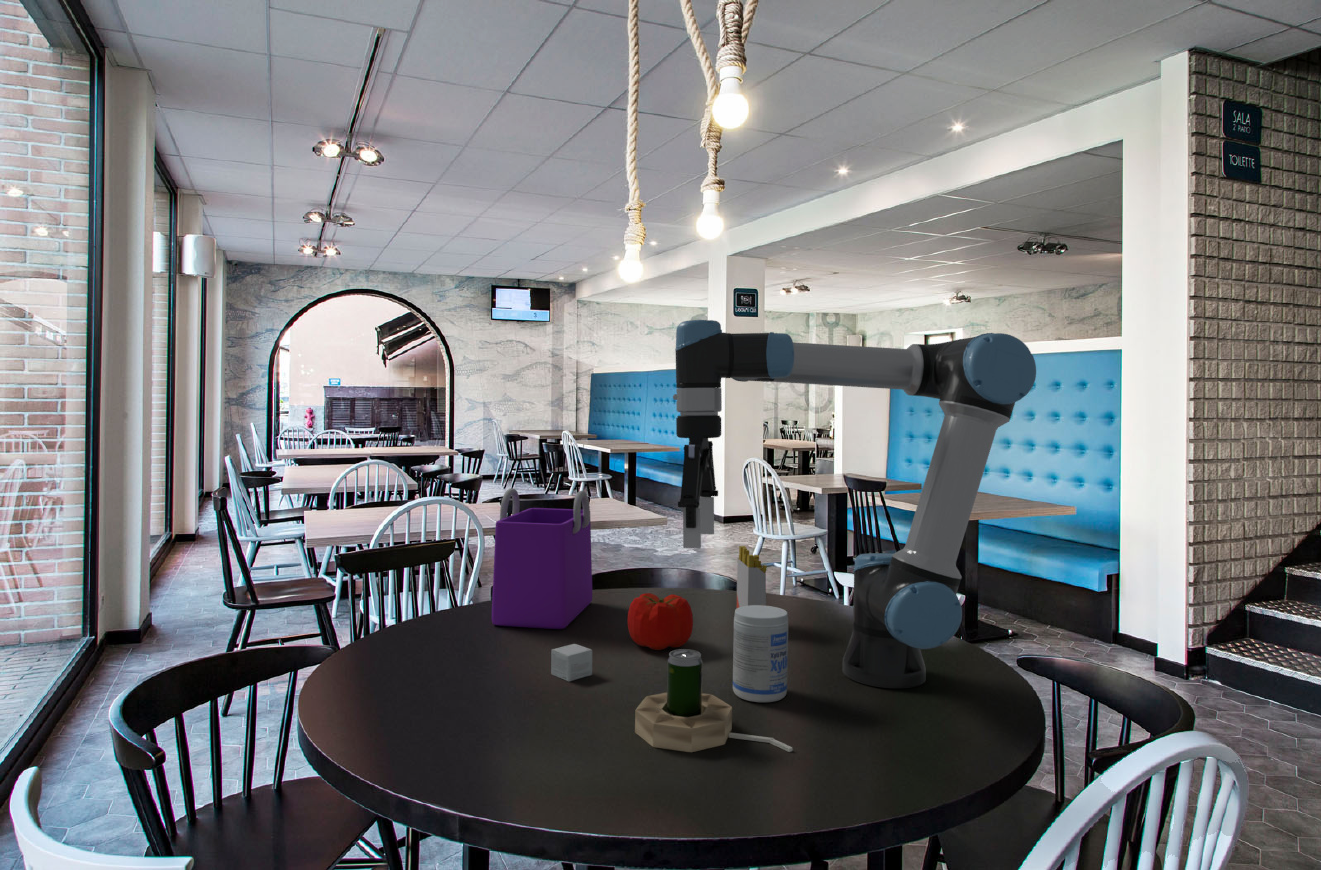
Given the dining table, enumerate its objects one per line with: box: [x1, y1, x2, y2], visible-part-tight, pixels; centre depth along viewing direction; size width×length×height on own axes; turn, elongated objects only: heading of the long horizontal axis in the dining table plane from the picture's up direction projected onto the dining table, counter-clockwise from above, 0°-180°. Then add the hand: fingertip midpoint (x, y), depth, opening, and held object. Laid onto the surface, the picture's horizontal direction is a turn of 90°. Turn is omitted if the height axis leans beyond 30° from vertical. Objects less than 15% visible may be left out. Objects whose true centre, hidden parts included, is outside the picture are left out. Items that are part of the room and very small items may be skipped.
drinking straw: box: [728, 732, 793, 753], centre depth 116 cm, size 10×3×1 cm, turn 74°
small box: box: [550, 643, 593, 682], centre depth 145 cm, size 6×6×5 cm
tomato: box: [627, 592, 694, 651], centre depth 163 cm, size 14×13×10 cm
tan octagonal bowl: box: [634, 692, 733, 753], centre depth 120 cm, size 14×14×4 cm
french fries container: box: [736, 545, 768, 609], centre depth 177 cm, size 5×11×18 cm, turn 7°
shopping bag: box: [491, 488, 593, 630], centre depth 186 cm, size 28×22×30 cm
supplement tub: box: [732, 605, 789, 703], centre depth 136 cm, size 10×10×15 cm
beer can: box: [666, 648, 703, 717], centre depth 120 cm, size 5×5×12 cm
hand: (699, 540), depth 130 cm, fingers open, 13 cm apart
